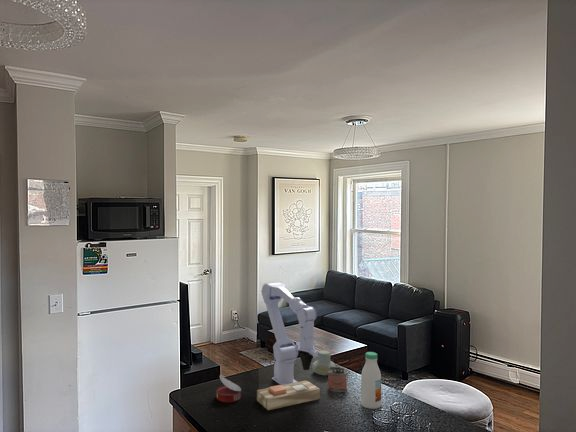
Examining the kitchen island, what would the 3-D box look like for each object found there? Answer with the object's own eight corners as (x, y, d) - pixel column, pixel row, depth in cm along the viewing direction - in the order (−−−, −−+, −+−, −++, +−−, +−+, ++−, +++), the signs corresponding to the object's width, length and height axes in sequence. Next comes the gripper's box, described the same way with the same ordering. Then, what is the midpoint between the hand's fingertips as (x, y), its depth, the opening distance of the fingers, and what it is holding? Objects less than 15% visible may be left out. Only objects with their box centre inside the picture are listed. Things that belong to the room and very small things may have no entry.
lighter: (346, 389, 179) (347, 365, 179) (347, 392, 176) (347, 368, 176) (327, 388, 180) (327, 364, 180) (327, 391, 177) (327, 367, 177)
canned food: (224, 404, 174) (229, 378, 178) (244, 406, 169) (249, 380, 174) (207, 399, 165) (213, 373, 170) (228, 402, 160) (233, 374, 165)
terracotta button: (268, 394, 166) (268, 387, 166) (279, 392, 169) (280, 384, 169) (274, 399, 162) (274, 391, 162) (285, 397, 164) (286, 389, 164)
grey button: (290, 393, 171) (290, 386, 171) (301, 391, 173) (301, 384, 174) (297, 398, 167) (297, 390, 167) (307, 396, 169) (307, 388, 169)
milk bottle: (369, 411, 158) (369, 357, 159) (356, 403, 165) (357, 351, 166) (385, 407, 162) (385, 354, 162) (372, 399, 169) (372, 349, 169)
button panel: (256, 400, 166) (256, 390, 166) (306, 389, 178) (306, 380, 178) (267, 410, 158) (268, 399, 158) (319, 398, 169) (319, 388, 169)
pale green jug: (336, 371, 200) (336, 350, 200) (334, 377, 192) (334, 355, 192) (313, 369, 203) (314, 348, 203) (310, 375, 195) (311, 353, 195)
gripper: (289, 333, 180) (289, 365, 180) (307, 342, 167) (307, 376, 167) (303, 331, 183) (303, 363, 183) (322, 340, 171) (322, 373, 170)
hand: (306, 369), depth 175 cm, fingers closed
